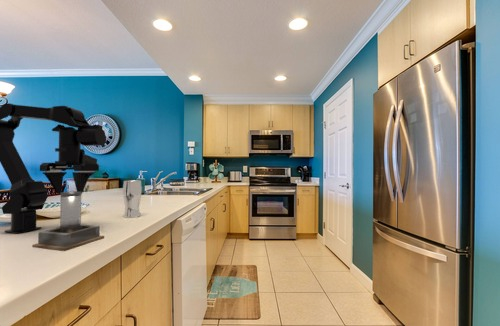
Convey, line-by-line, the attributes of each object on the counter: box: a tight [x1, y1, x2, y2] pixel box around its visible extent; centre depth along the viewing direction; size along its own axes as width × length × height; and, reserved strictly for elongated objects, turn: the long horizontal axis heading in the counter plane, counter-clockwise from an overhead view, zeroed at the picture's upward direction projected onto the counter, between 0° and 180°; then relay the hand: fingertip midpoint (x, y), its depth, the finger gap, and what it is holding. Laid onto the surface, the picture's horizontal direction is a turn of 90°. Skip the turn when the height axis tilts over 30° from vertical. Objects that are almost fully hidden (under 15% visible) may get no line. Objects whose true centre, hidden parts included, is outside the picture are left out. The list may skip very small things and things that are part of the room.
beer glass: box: [122, 179, 143, 219], centre depth 98 cm, size 7×7×15 cm
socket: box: [32, 223, 105, 252], centre depth 63 cm, size 11×11×4 cm
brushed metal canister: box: [59, 190, 82, 233], centre depth 63 cm, size 4×4×13 cm
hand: (69, 193), depth 75 cm, fingers open, 9 cm apart
